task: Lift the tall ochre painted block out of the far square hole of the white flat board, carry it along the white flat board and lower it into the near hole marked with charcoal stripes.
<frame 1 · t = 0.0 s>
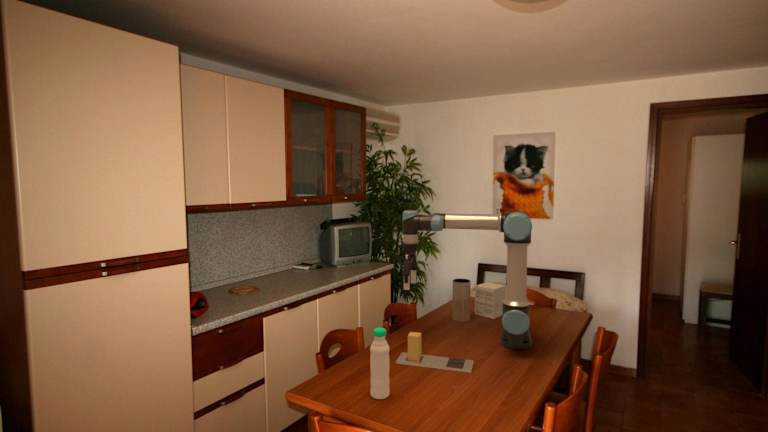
hand: (410, 286, 211), 28 cm above the table, fingers open, 13 cm apart
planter: (461, 320, 249), on the table
water bottle: (380, 395, 161), on the table
white flat board: (434, 363, 189), on the table
supplement box: (489, 314, 259), on the table
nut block: (414, 361, 192), resting in white flat board
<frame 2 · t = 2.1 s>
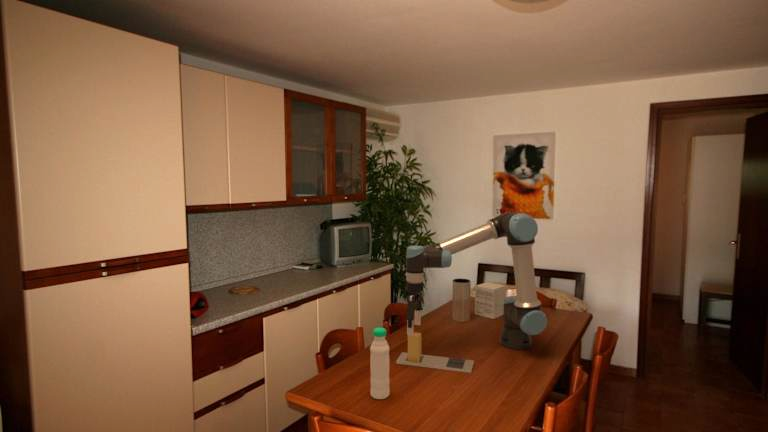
hand: (414, 329, 190), 14 cm above the table, fingers open, 13 cm apart
nothing on the table moved.
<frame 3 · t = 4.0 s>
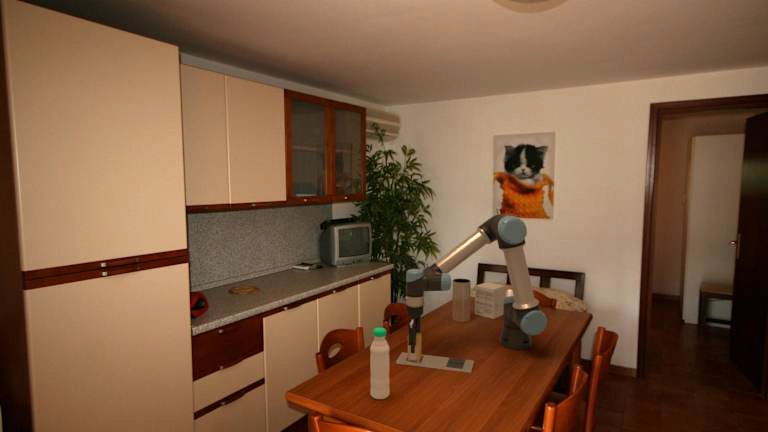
hand: (414, 356, 191), 2 cm above the table, fingers closed on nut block, 5 cm apart
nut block: (414, 360, 192), resting in white flat board, touching gripper
everything else where it was.
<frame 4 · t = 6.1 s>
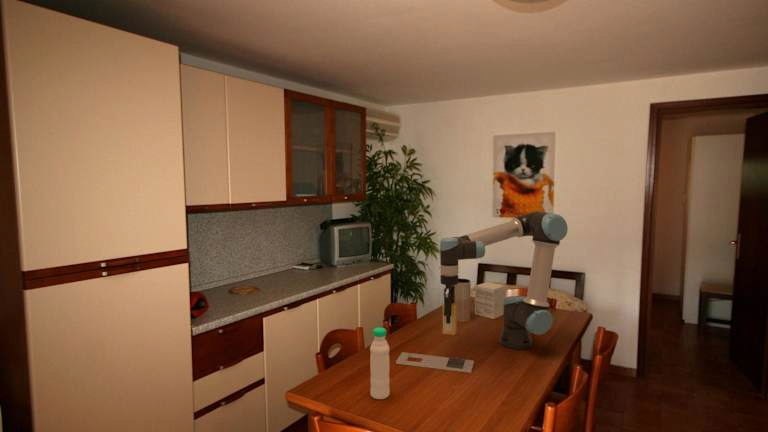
hand: (449, 328, 186), 16 cm above the table, fingers closed on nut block, 5 cm apart
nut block: (449, 332, 186), point 14 cm above the table, touching gripper
everything else where it was.
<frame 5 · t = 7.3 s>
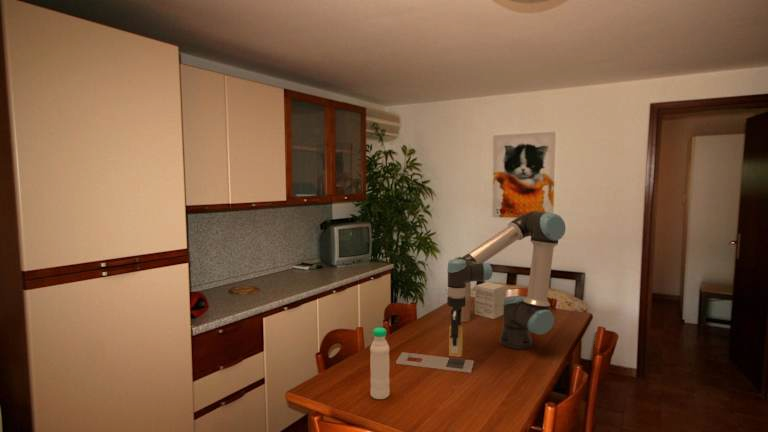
hand: (455, 350, 186), 7 cm above the table, fingers closed on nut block, 5 cm apart
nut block: (455, 354, 186), point 5 cm above the table, touching gripper
everything else where it was.
when the fingers open (3 cm above the table, at t = 8.4 s): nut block stays where it is, resting on white flat board.
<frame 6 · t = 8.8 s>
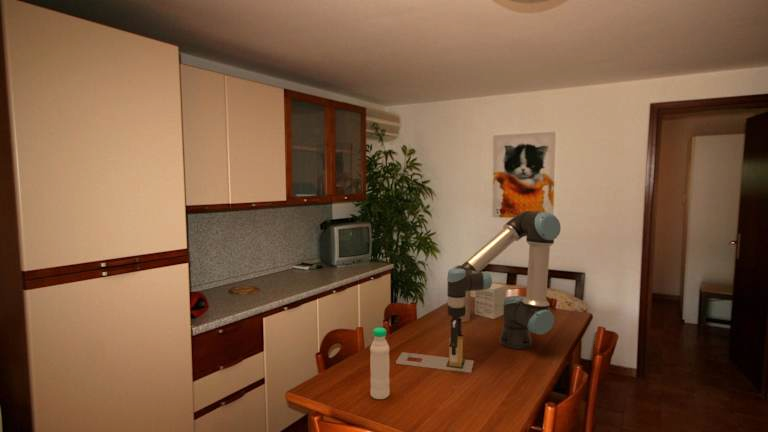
hand: (455, 356, 186), 4 cm above the table, fingers open, 10 cm apart
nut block: (455, 365, 186), resting on white flat board
everything else where it was.
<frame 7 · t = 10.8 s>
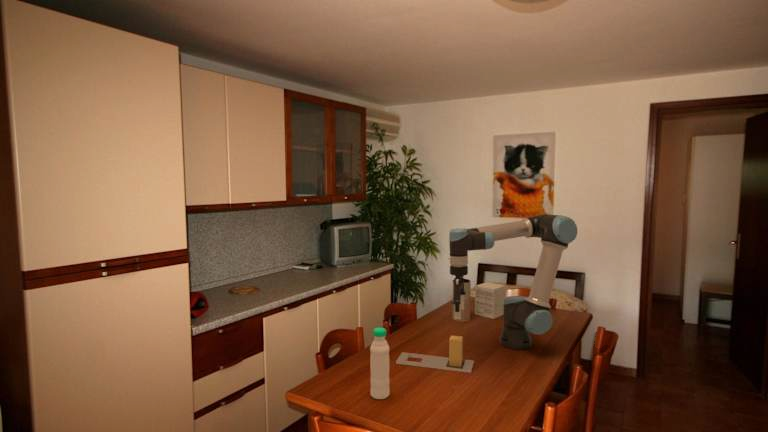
hand: (459, 314, 187), 22 cm above the table, fingers open, 13 cm apart
nothing on the table moved.
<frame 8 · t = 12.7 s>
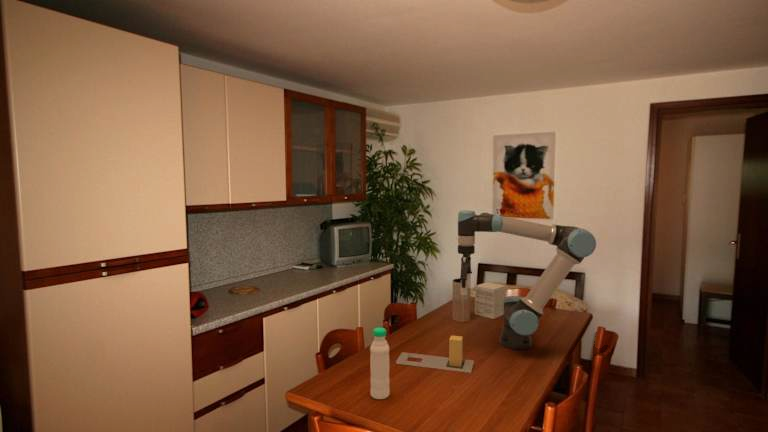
hand: (465, 291, 199), 29 cm above the table, fingers open, 13 cm apart
nothing on the table moved.
at the end: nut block 0.0 cm from the target spot on the white flat board, point 0.2 cm above the white flat board's base; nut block tilted 0°; the gripper is holding nothing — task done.
